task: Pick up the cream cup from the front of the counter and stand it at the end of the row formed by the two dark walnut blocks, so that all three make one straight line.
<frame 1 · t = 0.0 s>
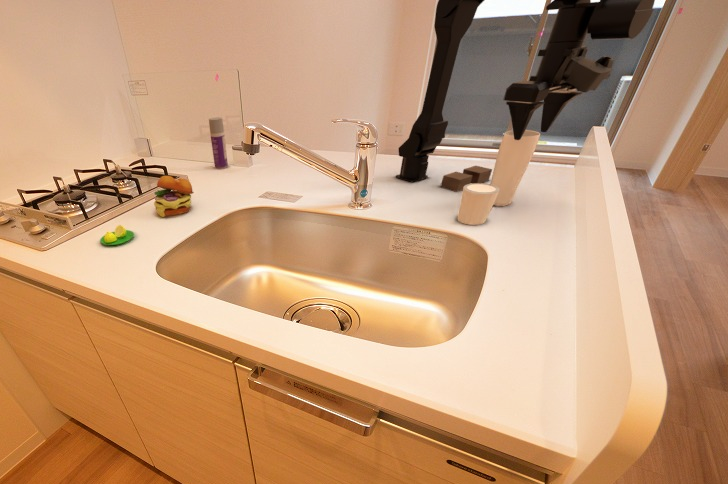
hand: (530, 135, 77), 15 cm above the worktop, tool pointing down, fingers open, 9 cm apart
cream cup: (470, 220, 82), on the worktop
lemon: (118, 240, 88), on the worktop
cheeseburger: (175, 211, 100), on the worktop
walnut block far: (474, 180, 100), on the worktop
container: (221, 167, 129), on the worktop
walnut block near: (454, 187, 98), on the worktop
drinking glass: (497, 203, 88), on the worktop
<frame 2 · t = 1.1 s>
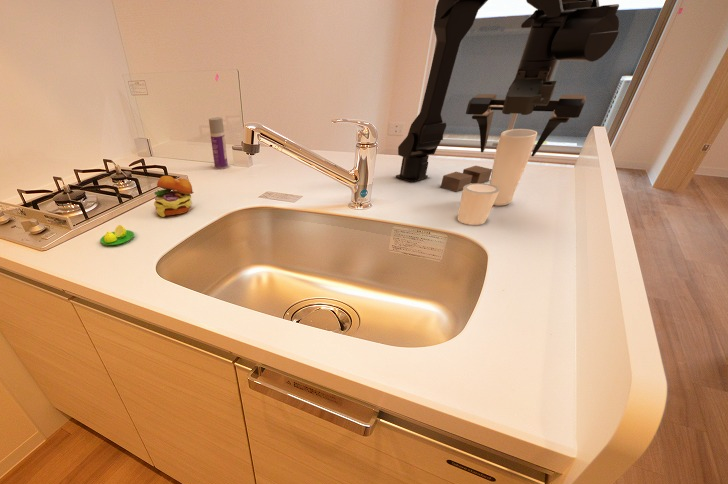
hand: (506, 153, 76), 13 cm above the worktop, tool pointing down, fingers open, 9 cm apart
nothing on the worktop moved.
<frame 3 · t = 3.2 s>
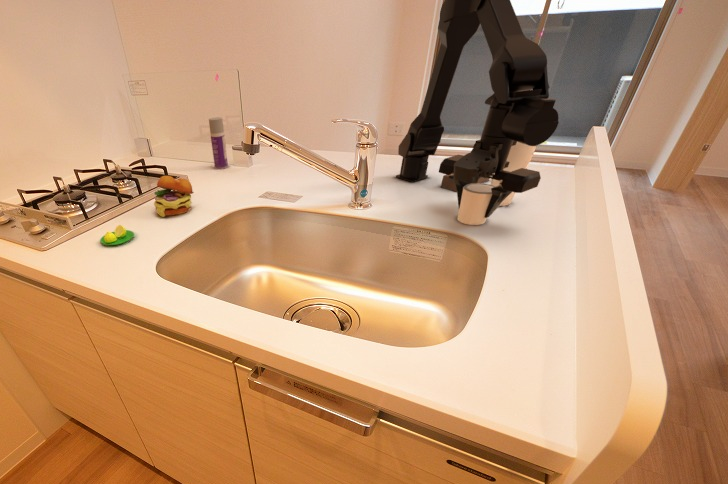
hand: (473, 213, 81), 2 cm above the worktop, tool pointing down, fingers closed on cream cup, 6 cm apart
cream cup: (470, 220, 82), on the worktop, touching gripper
everything else where it was.
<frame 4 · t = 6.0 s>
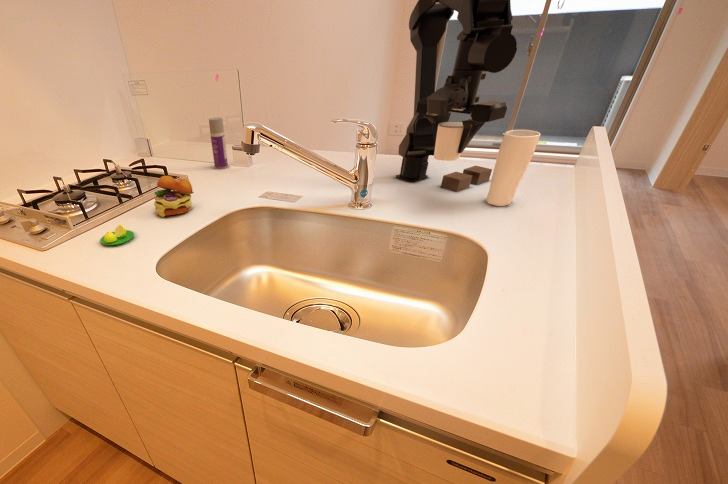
hand: (447, 150, 86), 11 cm above the worktop, tool pointing down, fingers closed on cream cup, 6 cm apart
cream cup: (445, 158, 87), point 9 cm above the worktop, touching gripper
everything else where it was.
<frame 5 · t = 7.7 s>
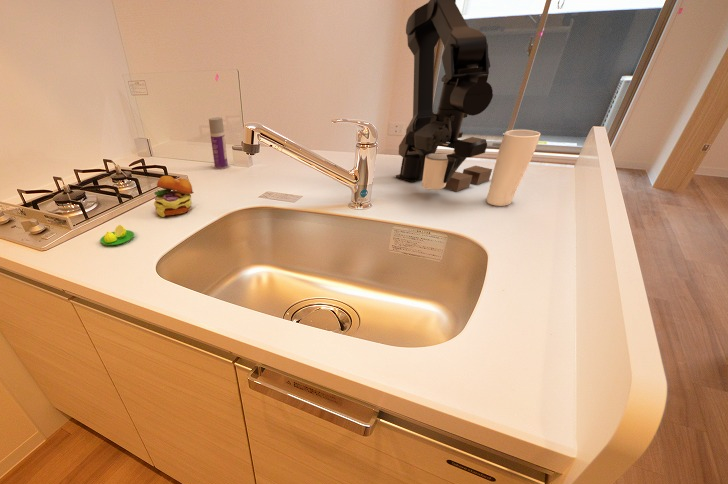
hand: (434, 179, 92), 4 cm above the worktop, tool pointing down, fingers closed on cream cup, 6 cm apart
cream cup: (433, 186, 93), point 2 cm above the worktop, touching gripper
everything else where it was.
when the fingers open (1 cm above the worktop, at t = 8.9 s): cream cup stays where it is, on the worktop.
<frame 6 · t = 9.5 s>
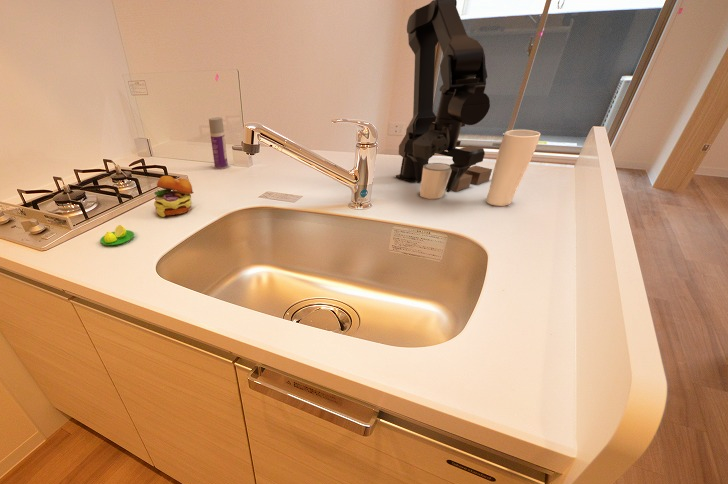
hand: (433, 186, 93), 2 cm above the worktop, tool pointing down, fingers open, 9 cm apart
cream cup: (430, 195, 95), on the worktop
everything else where it was.
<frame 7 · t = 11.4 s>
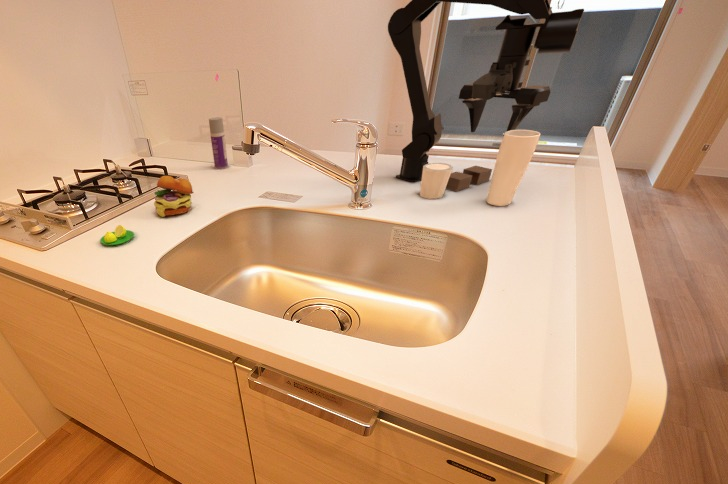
hand: (489, 134, 90), 12 cm above the worktop, tool pointing down, fingers open, 9 cm apart
nothing on the worktop moved.
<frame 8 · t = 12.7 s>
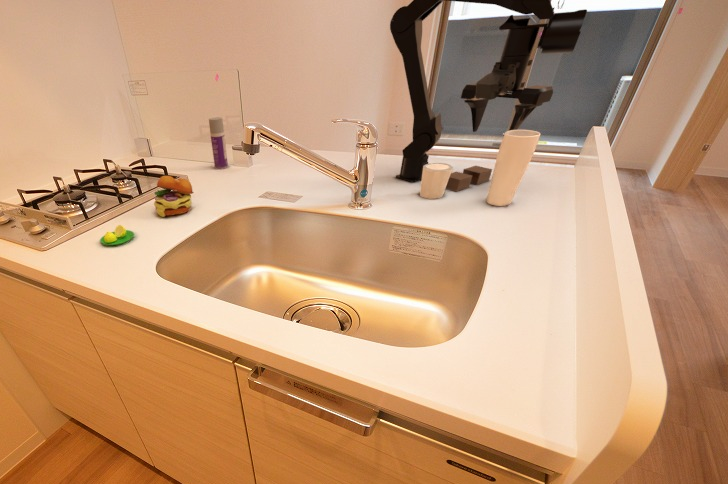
hand: (491, 134, 91), 12 cm above the worktop, tool pointing down, fingers open, 9 cm apart
nothing on the worktop moved.
at the end: cream cup 0.1 cm from the target spot on the worktop beside the walnut block far, on the worktop; cream cup tilted 0°; the gripper is holding nothing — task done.
